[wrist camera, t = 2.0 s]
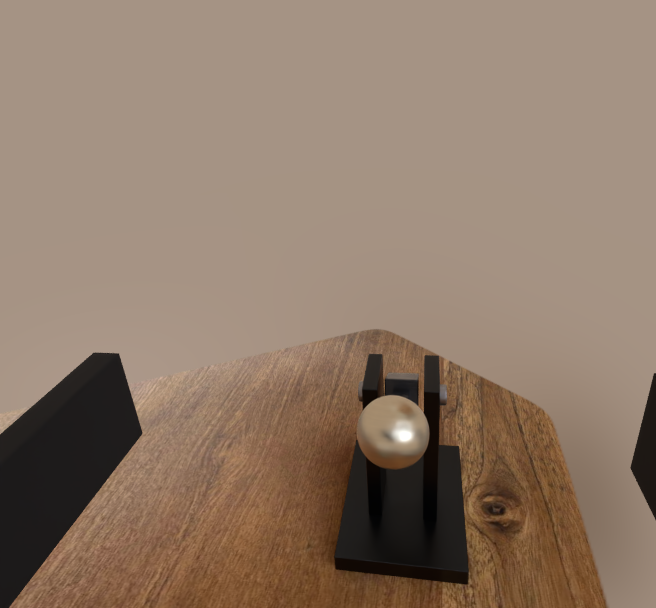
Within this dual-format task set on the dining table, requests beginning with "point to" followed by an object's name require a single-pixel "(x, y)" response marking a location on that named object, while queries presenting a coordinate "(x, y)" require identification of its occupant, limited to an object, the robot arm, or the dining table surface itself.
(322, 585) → the dining table surface
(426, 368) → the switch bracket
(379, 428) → the switch lever
